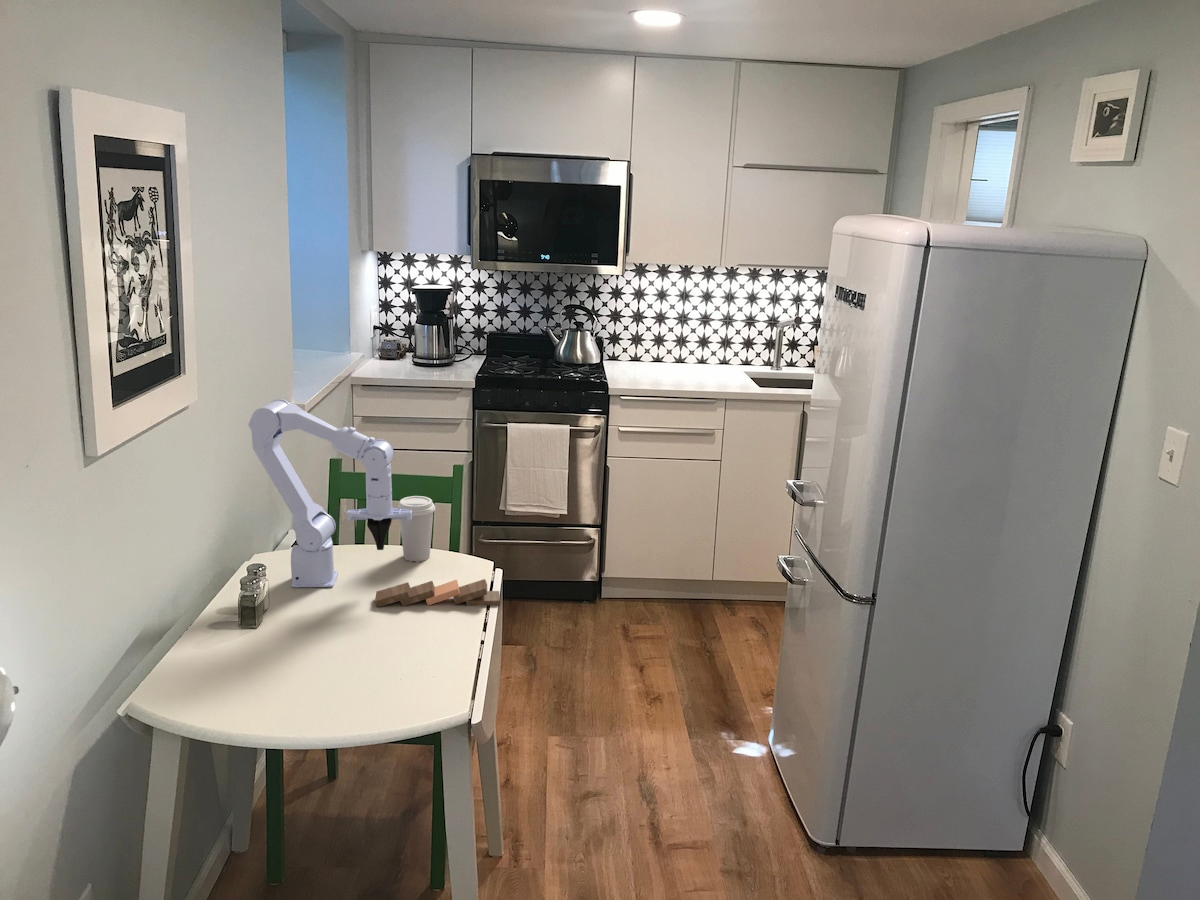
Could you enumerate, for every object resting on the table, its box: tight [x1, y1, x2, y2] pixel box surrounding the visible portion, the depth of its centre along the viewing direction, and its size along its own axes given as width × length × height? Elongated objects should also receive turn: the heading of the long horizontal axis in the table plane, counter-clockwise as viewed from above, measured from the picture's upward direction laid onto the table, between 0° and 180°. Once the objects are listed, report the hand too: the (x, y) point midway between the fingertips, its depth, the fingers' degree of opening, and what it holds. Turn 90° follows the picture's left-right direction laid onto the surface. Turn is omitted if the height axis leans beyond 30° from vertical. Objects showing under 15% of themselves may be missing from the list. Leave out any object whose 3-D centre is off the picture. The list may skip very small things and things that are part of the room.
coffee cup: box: [396, 495, 436, 562], centre depth 236 cm, size 10×10×15 cm
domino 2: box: [399, 580, 435, 607], centre depth 213 cm, size 2×5×8 cm
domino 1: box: [374, 582, 411, 608], centre depth 212 cm, size 2×5×8 cm
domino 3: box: [425, 579, 460, 606], centre depth 214 cm, size 2×5×8 cm
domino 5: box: [465, 590, 501, 607], centre depth 215 cm, size 2×5×8 cm
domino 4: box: [452, 578, 488, 605], centre depth 214 cm, size 2×5×8 cm
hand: (380, 548), depth 218 cm, fingers closed
